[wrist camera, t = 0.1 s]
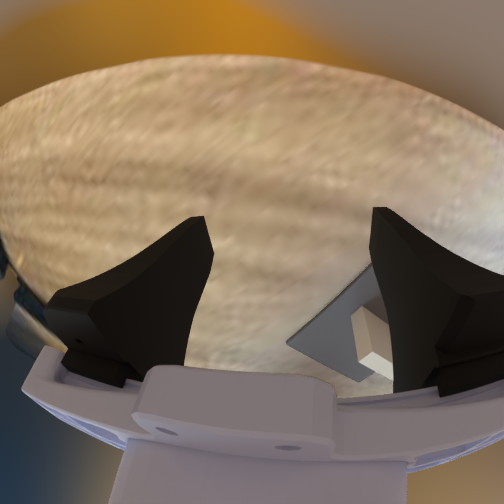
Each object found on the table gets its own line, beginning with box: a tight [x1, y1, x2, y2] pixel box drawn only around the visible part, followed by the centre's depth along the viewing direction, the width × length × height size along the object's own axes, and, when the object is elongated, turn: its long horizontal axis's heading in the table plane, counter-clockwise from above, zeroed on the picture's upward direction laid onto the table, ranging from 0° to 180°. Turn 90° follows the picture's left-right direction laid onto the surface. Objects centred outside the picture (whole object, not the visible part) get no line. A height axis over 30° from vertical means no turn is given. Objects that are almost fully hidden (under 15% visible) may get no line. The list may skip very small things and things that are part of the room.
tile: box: [351, 306, 393, 381], centre depth 23 cm, size 2×7×6 cm, turn 56°
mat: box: [286, 263, 389, 382], centre depth 26 cm, size 16×12×1 cm
